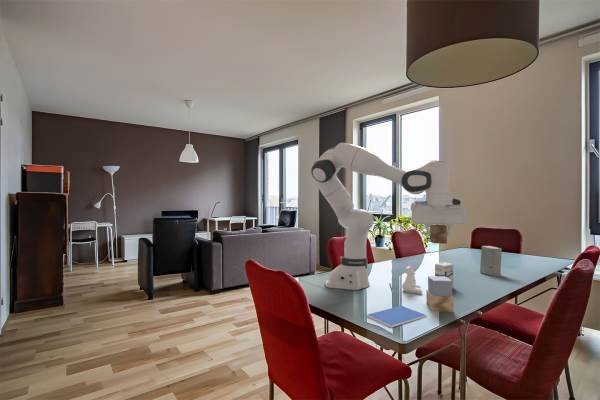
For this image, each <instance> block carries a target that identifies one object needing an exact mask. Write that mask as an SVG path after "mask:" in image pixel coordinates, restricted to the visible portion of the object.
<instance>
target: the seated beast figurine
mask: <svg viewBox="0 0 600 400" xmlns="http://www.w3.org/2000/svg"><path fill="white" fill-rule="evenodd" d="M404 271H405V274H406V277H405V280H404V281H403V283H402V290H403V291H405V292H406V293H411V294H416V295H423V290H422V289H421V285H419V284H417V282H416V278H415V275H416V273H415V268H413V267H412V265H408V266H406V267H405V269H404Z"/></svg>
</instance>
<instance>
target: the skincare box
mask: <svg viewBox="0 0 600 400" xmlns="http://www.w3.org/2000/svg"><path fill="white" fill-rule="evenodd" d="M502 252H503V248H501V247H497V246H492V245H482V246H481V252H480V264H479V266H480V268H479V269H480V270H479V273H480V274H484V275H488V276H491V277H493V276H494V277H496V276H497V277H498V276H501V274H502V273H501V270H502V269H501V268H502V255H503V253H502Z"/></svg>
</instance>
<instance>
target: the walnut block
mask: <svg viewBox="0 0 600 400" xmlns="http://www.w3.org/2000/svg"><path fill="white" fill-rule="evenodd" d="M447 228H448V227H447V224H429V230H430V231H432V236H429V242H430V243H432V244H448V236H447Z"/></svg>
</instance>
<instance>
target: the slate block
mask: <svg viewBox="0 0 600 400" xmlns="http://www.w3.org/2000/svg"><path fill="white" fill-rule="evenodd" d="M427 282H428V283H427V290H428V291H429V292H430V293H431V294H432V295H433V296H451V297H452V296H453V288H452V281H451V280H450V279H449V278H447V277H443V276H435V275H427Z"/></svg>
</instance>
